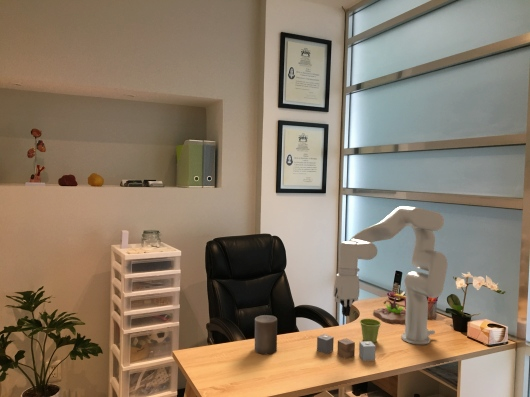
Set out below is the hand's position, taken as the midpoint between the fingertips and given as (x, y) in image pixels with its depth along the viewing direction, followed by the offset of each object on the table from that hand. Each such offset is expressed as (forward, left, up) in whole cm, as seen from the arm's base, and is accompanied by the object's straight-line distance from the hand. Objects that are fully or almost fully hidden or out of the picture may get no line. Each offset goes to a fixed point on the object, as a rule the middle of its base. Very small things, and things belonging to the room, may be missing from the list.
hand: (345, 315), depth 173 cm
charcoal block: (+5, -7, -17) cm, 19 cm away
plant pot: (-20, -10, -17) cm, 28 cm away
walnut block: (-1, 0, -17) cm, 17 cm away
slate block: (-8, +5, -17) cm, 20 cm away
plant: (-52, -33, -18) cm, 64 cm away
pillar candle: (+29, -16, -18) cm, 38 cm away
